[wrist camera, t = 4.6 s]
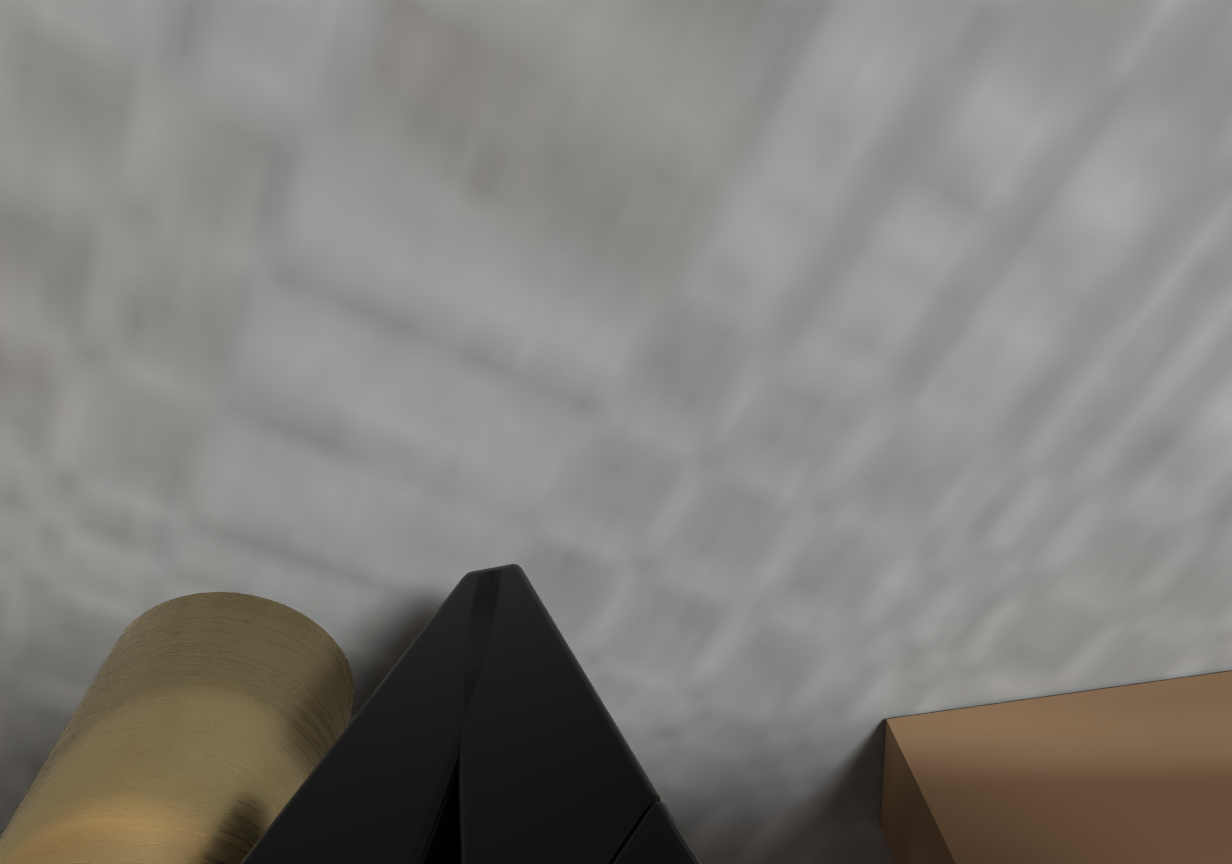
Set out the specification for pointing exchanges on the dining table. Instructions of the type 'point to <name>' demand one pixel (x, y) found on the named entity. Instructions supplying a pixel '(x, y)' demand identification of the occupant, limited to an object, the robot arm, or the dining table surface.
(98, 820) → the lever
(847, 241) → the dining table surface
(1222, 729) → the wooden angled piece
